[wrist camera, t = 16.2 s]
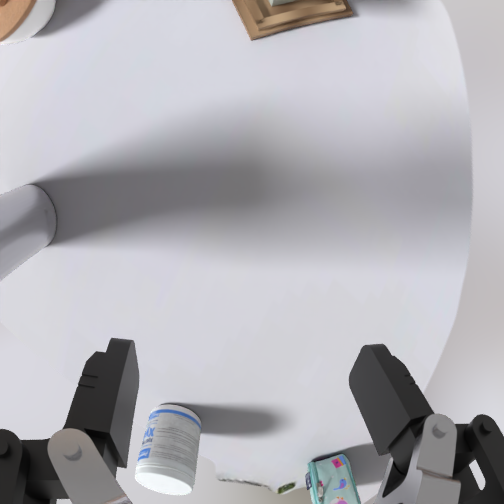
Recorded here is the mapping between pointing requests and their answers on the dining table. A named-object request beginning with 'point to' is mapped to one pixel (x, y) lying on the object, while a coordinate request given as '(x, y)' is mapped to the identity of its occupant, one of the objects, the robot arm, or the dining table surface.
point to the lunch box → (332, 481)
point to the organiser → (287, 14)
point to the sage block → (279, 2)
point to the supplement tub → (169, 450)
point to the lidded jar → (23, 19)
